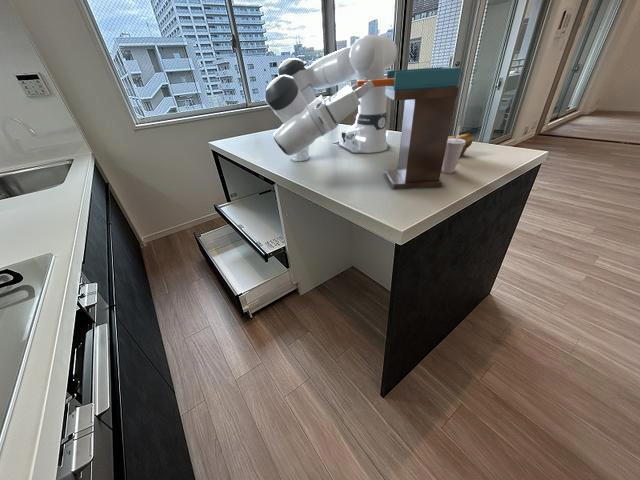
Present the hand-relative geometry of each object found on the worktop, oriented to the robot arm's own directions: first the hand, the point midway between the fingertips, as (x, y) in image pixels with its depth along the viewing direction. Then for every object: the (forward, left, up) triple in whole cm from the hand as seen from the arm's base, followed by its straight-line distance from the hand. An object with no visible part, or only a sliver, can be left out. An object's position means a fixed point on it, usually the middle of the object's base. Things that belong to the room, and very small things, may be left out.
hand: (370, 81), depth 67 cm
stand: (+7, +11, -27) cm, 30 cm away
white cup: (-37, -3, -28) cm, 46 cm away
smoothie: (+10, +27, -28) cm, 40 cm away
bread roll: (0, +41, -28) cm, 49 cm away
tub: (+7, +11, -2) cm, 13 cm away
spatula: (+4, +6, -1) cm, 7 cm away
